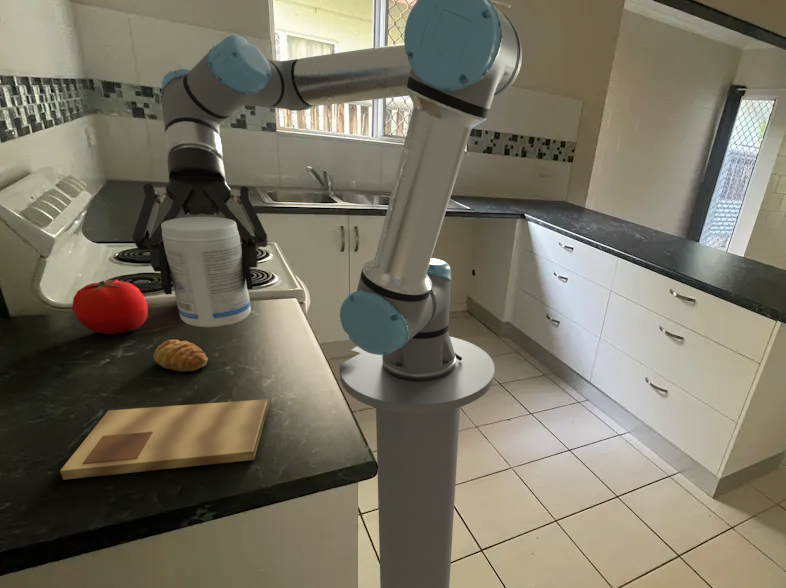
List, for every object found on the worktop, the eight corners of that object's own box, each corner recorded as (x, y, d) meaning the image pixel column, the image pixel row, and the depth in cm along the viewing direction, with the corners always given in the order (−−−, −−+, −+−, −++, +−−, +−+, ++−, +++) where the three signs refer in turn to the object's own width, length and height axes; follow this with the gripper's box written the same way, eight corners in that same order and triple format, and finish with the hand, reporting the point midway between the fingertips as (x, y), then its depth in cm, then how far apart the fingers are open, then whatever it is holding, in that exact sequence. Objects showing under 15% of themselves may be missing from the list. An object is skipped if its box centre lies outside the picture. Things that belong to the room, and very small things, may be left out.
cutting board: (268, 406, 79) (267, 398, 78) (254, 460, 67) (252, 450, 66) (110, 418, 72) (107, 409, 72) (62, 480, 60) (59, 470, 60)
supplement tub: (254, 305, 79) (243, 216, 73) (247, 327, 71) (234, 230, 65) (187, 307, 76) (169, 214, 70) (171, 330, 68) (150, 228, 62)
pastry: (219, 363, 90) (216, 345, 89) (185, 378, 85) (181, 359, 83) (184, 351, 93) (180, 333, 92) (149, 365, 88) (144, 346, 86)
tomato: (161, 320, 105) (150, 272, 101) (140, 342, 95) (127, 289, 91) (96, 321, 102) (82, 271, 97) (68, 344, 92) (50, 289, 87)
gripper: (274, 179, 83) (292, 293, 77) (114, 173, 73) (121, 304, 67) (273, 149, 77) (292, 271, 71) (98, 138, 67) (104, 280, 61)
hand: (209, 287), depth 69 cm, fingers closed on supplement tub, 10 cm apart
